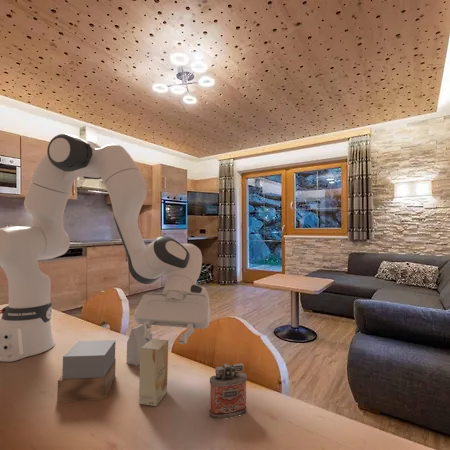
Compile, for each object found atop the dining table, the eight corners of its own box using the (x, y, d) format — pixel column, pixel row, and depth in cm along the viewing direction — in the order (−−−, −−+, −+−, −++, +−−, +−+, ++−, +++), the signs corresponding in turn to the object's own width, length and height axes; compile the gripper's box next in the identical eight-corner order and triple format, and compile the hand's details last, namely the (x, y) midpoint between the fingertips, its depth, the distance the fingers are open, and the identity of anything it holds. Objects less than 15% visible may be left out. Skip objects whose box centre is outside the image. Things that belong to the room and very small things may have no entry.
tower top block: (62, 379, 63) (62, 356, 63) (78, 361, 72) (79, 341, 72) (104, 377, 64) (104, 355, 64) (115, 359, 73) (115, 340, 73)
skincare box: (156, 407, 61) (157, 350, 61) (137, 404, 62) (139, 348, 62) (168, 391, 67) (169, 339, 68) (151, 388, 68) (152, 337, 69)
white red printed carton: (151, 356, 86) (152, 323, 86) (136, 365, 80) (137, 330, 80) (142, 354, 88) (142, 321, 88) (126, 363, 81) (127, 328, 82)
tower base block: (57, 403, 62) (57, 380, 63) (74, 380, 72) (74, 360, 72) (104, 400, 64) (105, 377, 64) (115, 377, 74) (115, 358, 74)
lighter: (211, 421, 57) (211, 371, 57) (207, 411, 60) (208, 363, 60) (248, 415, 59) (249, 366, 59) (243, 405, 62) (244, 359, 62)
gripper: (141, 285, 80) (121, 332, 70) (211, 288, 76) (201, 338, 66) (148, 297, 84) (130, 343, 74) (215, 301, 80) (205, 350, 70)
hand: (164, 341), depth 70 cm, fingers open, 8 cm apart
